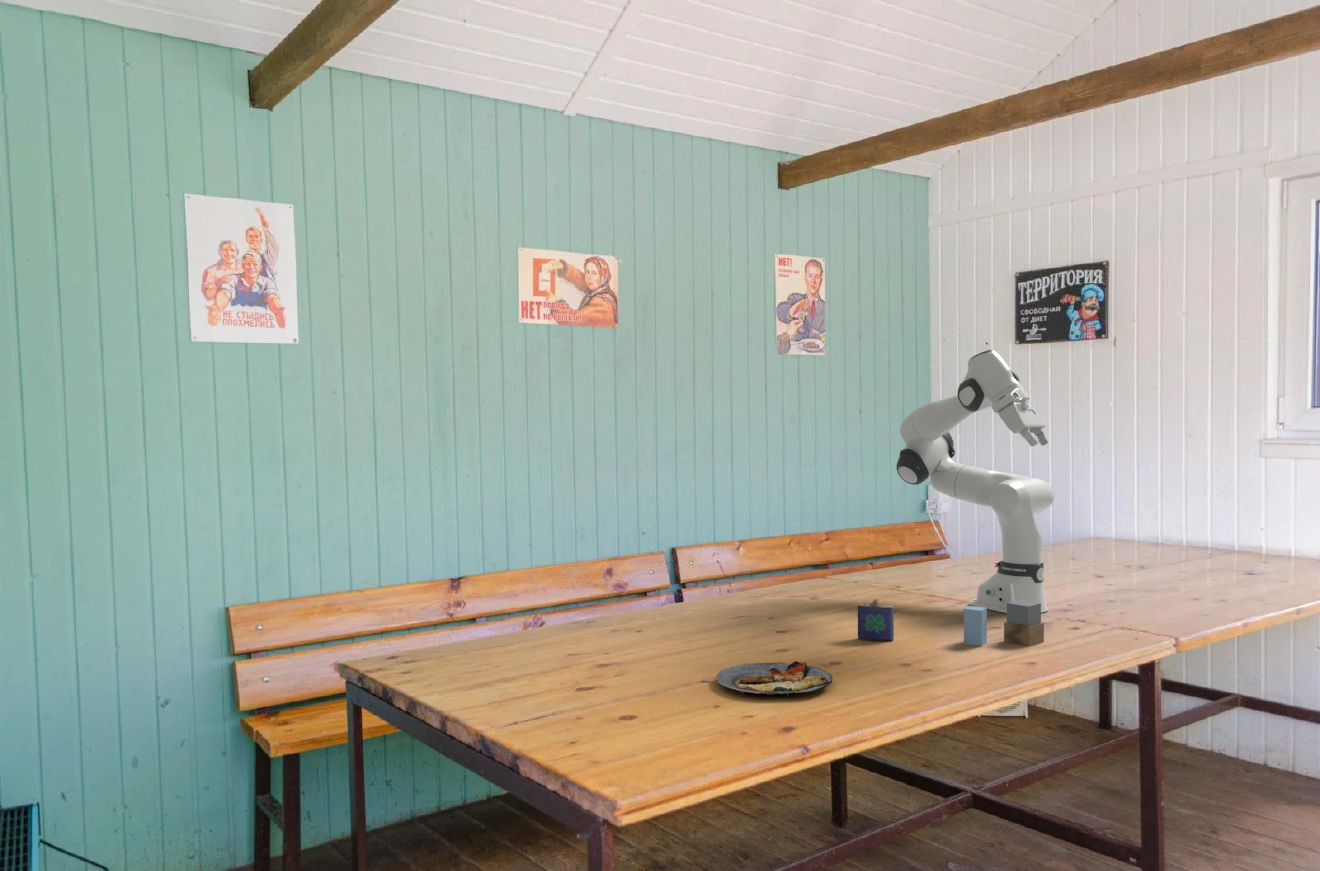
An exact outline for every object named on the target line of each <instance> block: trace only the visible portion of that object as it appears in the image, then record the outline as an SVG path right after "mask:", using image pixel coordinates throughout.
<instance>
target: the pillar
mask: <svg viewBox="0 0 1320 871" xmlns="http://www.w3.org/2000/svg"><path fill="white" fill-rule="evenodd" d="M987 611H988V609H987V608H985V607H977V606H972V605H968V606H966V607H964V608H963V645H969V646H976V647H977V646H978V647H984V645H986V644H987V640H988V636H987V635H988V634H987V633H988V627H987V626H988V624H987V622H988V621H987V616H988V612H987Z"/></svg>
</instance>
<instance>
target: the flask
mask: <svg viewBox="0 0 1320 871" xmlns="http://www.w3.org/2000/svg"><path fill="white" fill-rule="evenodd" d="M872 600H873V602H871V603H870V602H867V603H866V602H864V603H861V604H858V605H857V640H859V641H870V642H872V641H873V642H875V641H877V642H894V639H895V634H894V633H895V632H894V631H895V623H894V621H895V619H894V618H895V616H894V611H895V607H894V606H893V605H884V604H883V605H879V601H880V599H877V598H873V599H872Z"/></svg>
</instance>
